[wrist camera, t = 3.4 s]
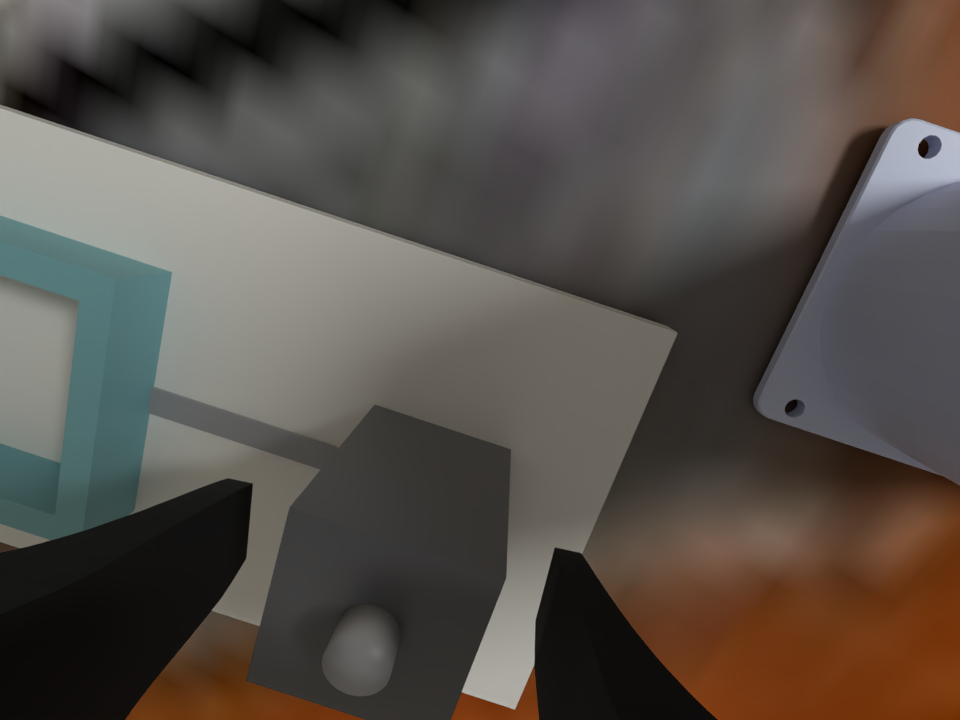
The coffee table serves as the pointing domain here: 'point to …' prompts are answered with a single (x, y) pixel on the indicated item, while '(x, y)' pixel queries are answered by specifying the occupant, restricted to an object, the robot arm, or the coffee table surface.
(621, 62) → the coffee table surface
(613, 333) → the board
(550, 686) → the robot arm
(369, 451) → the cable plug
